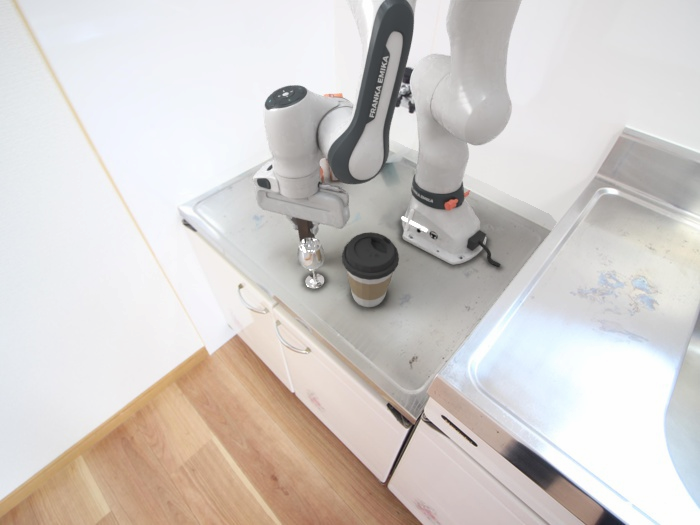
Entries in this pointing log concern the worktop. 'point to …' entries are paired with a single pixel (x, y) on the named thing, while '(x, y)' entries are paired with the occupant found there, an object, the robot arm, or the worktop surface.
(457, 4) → the robot arm
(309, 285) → the wineglass
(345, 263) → the coffee cup
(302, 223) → the stick
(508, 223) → the worktop surface
